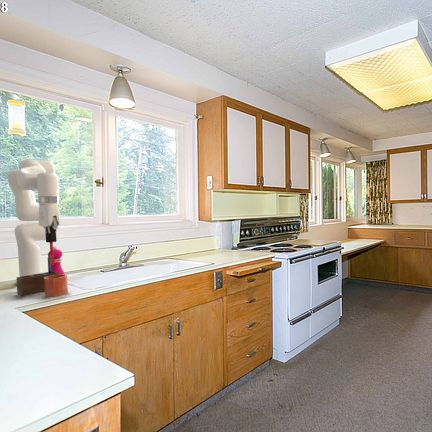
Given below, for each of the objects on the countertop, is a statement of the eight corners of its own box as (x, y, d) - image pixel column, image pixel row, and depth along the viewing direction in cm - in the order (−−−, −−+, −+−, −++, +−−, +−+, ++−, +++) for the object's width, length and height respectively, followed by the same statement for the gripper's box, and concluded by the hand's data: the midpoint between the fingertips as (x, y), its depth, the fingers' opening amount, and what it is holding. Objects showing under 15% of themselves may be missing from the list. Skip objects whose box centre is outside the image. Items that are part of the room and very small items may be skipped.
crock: (41, 297, 141) (40, 277, 141) (63, 292, 148) (62, 273, 148) (49, 300, 137) (48, 279, 136) (71, 295, 144) (70, 275, 143)
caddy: (17, 296, 143) (16, 277, 143) (54, 288, 155) (53, 271, 155) (22, 298, 140) (20, 278, 140) (59, 290, 152) (58, 272, 152)
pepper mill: (68, 283, 166) (66, 245, 165) (57, 287, 158) (55, 247, 157) (56, 283, 166) (54, 245, 165) (44, 286, 159) (42, 247, 158)
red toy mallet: (49, 264, 142) (47, 229, 141) (52, 264, 143) (50, 229, 142) (52, 264, 141) (50, 229, 140) (55, 264, 141) (53, 229, 141)
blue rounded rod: (48, 289, 152) (46, 256, 151) (50, 288, 153) (49, 256, 152) (50, 289, 150) (48, 257, 150) (53, 289, 151) (51, 256, 151)
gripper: (31, 201, 142) (34, 242, 142) (46, 200, 133) (48, 244, 134) (51, 201, 148) (53, 240, 149) (66, 200, 140) (68, 241, 140)
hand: (51, 241), depth 141 cm, fingers closed on red toy mallet, 1 cm apart
